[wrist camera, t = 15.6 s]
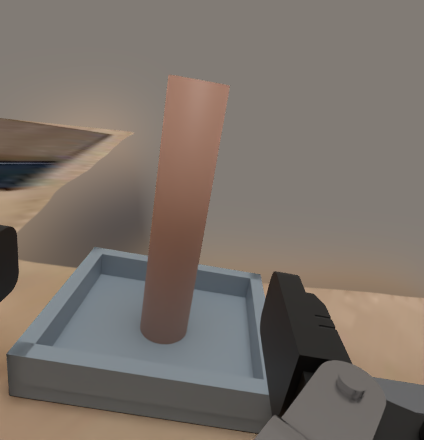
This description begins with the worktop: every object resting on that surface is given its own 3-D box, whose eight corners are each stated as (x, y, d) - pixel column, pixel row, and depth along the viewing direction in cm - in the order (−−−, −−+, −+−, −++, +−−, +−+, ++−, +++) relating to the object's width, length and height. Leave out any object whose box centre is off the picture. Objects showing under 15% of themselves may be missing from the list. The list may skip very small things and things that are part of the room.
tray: (253, 302, 31) (260, 274, 30) (271, 435, 19) (283, 397, 18) (93, 275, 31) (94, 246, 30) (9, 395, 19) (6, 354, 18)
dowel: (188, 316, 26) (229, 86, 20) (184, 347, 23) (230, 85, 17) (145, 309, 26) (173, 75, 20) (135, 339, 23) (163, 73, 17)
